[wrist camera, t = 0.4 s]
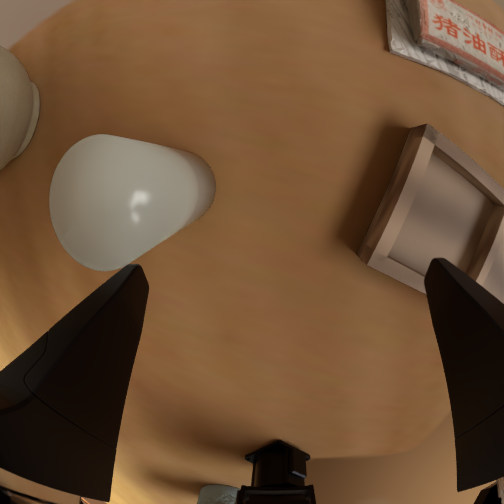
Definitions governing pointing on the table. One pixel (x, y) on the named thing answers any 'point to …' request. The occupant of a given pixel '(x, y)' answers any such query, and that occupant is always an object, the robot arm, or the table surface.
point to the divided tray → (438, 216)
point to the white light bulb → (125, 198)
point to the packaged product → (449, 42)
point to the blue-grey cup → (217, 494)
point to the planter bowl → (16, 107)
